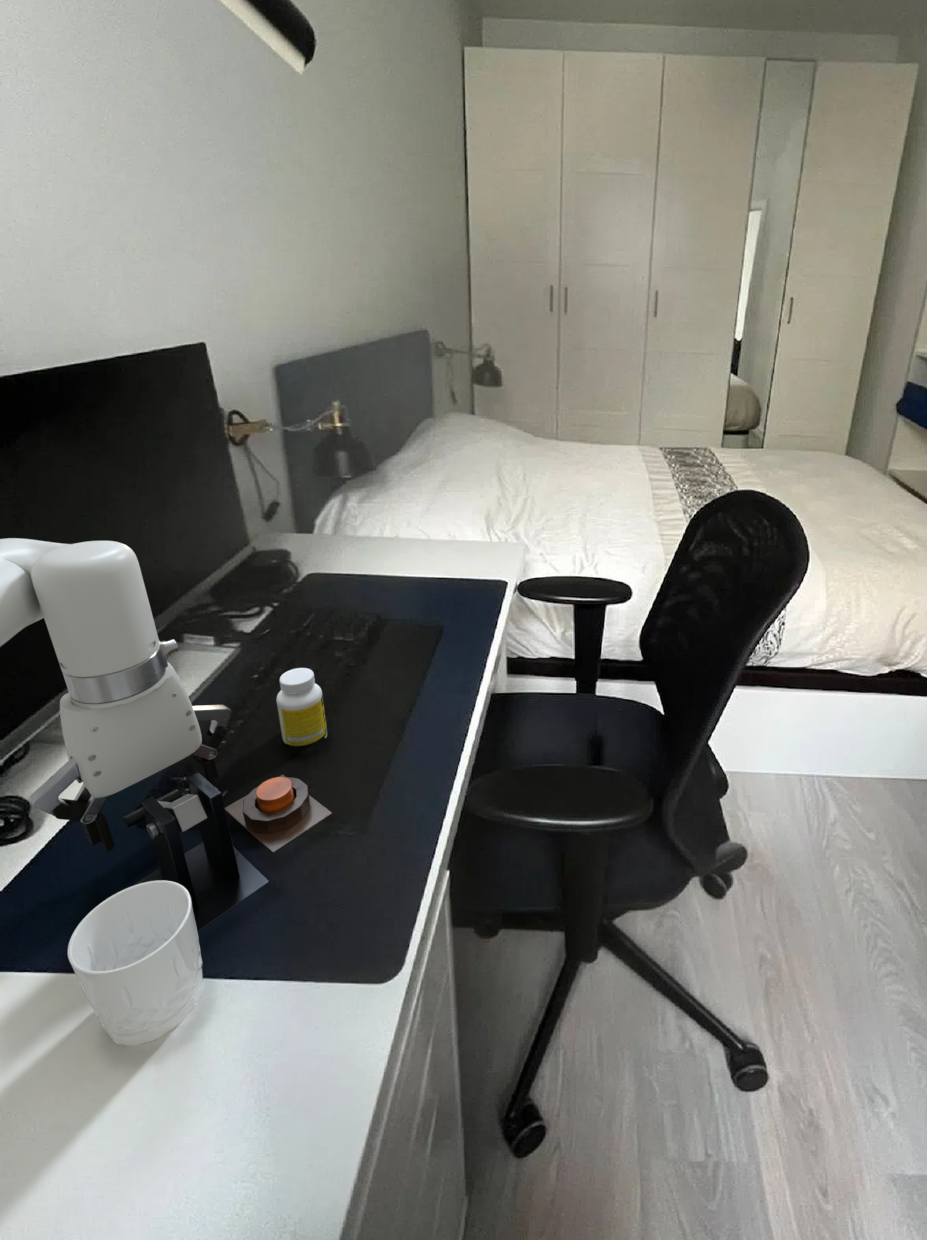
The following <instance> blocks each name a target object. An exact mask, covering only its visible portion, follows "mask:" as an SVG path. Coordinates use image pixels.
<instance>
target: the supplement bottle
mask: <svg viewBox="0 0 927 1240" xmlns="http://www.w3.org/2000/svg"><path fill="white" fill-rule="evenodd" d="M279 687H280V691H279V692H278V693H277V695H276V697H275V698H276V699H275V701H276V707H277V712H278V713H277V714H278V721H279V725H280V732H281V738H282V742H283V743H284V744H285V745H287V746H290V747H304V746H308V745H312V744H315V743H316V742H318V741H320V740H321V739H323V738H324V739H327V737H328V726H327V719H326V711H325V704H324V696H323V690H322V688H321V686H320V685H318V684H317V683H316V679H315V673H314V671H313V670H312V669H311V668H307V667H296V668H292V669H289V670H287V671H285V672H284V673H282V674H281V676H280V677H279Z"/></svg>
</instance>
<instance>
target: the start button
mask: <svg viewBox="0 0 927 1240" xmlns="http://www.w3.org/2000/svg"><path fill="white" fill-rule="evenodd" d="M258 786H259V787H258ZM258 786H257V787H258V788H257V791H256V797H257V802H258V807H259V809H260V810H261V811H263V812H270V813H271V812H274V811H278V810H282V809H284V808H285V807H287V806H289V805H290V804H291V803H292V801H293V799H294V792H293V786H292V782H291V780H290V779H288V778H285V777H279V776H276V777H271V778H269V779H267V780H265V781H263V782H261V784H259V785H258Z"/></svg>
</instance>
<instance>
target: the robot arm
mask: <svg viewBox="0 0 927 1240" xmlns="http://www.w3.org/2000/svg"><path fill="white" fill-rule="evenodd" d="M42 619H44V622H45V625H46V628H47V631H48V635H49V638H50V640H51V644H52V646H53V649H54V652H55V655H56V658H57V661H58V664H59V668H60V670H61V673H62V676H63V679H64V682H65V685H66V688H67V691H68V692H67V693H65V694H63V696H61V698H60V700H59V716H60V725H61V732H62V737H63V742H64V746H65V750H66V755H67V758H68V761H66V762H65V764H63V765H62V766H61V767H59V769H58V770H57V771H56V772H55V773H53V774H52V775H51V776H50V777H49V778H48V779H47V780H45V781H44V783H42V784H41V785H40V786H39V787H38V788H37V789H36V790H35V791H34V792H33V793H31V794H30V796H29V801H30V803H31V804H32V805H33V806H34V808H36V809H37V810H40V811H42V812H44V813H47V814H48V815H51V816H53V817H55V818H56V820H64V821H74V822H80V823H81V826H82V829H83V831H84V834H85V836H86V840H87V841H88V842H89V844H90V845H91V846H92V847H93V846H95V845H97V844H100V846H101V847H102V848H103V849H104V851H105V852H106V853H108V852H110V851H112V850H114V847H116V844H115V842H114V838H113V835H112V832H111V829H110V826H109V823H108V820H107V818H106V816H105V815H104V813H102V812H101V811H102V809H103V807H104V805H105V803H106V802H107V800H108V798H109V796H112V795H114V794H116V793H119V792H121V791H123V790H125V789H127V788H129V787H131V786H133V785H135V784H137V783H139V782H141V781H143V780H145V779H147V778H149V777H151V776H153V775H155V774H157V773H159V772H161V771H162V770H164V769H166V768H169V767H170V766H172V765H175V764H176V763H178V762H180V761H182V760H184V759H186V758H187V757H189V758H190V763H191V766H192V770H193V775H194V774H196V773H199V774H201V775H202V776H203V777H204V778H205V779H206V780H207V781H208V782H210V783H211V784H212V785H213V786H214V787H215V788H217V783H216V780H215V779H217V778H219V773H218V770H217V764H216V761H215V758H216V757H217V756H218V753H219V752H218V750H217V749H218V748H219V746H220V745H221V743H222V741H223V740H224V739H225V737H226V735H227V727H228V725H229V723H230V719H231V716H232V709H231V708H229V707H228V706H227V705H225V704H204V705H193V704H192V702H191V699H190V698H189V695H188V693H187V690H186V688H185V687H184V684H183V682H182V679H181V678H180V676H179V675H178V673H177V671H176V669H175V668H174V667H173V666H172V664H171V663H170V662H168V657H171V656H172V654H174V653H176V652H179V645H178V643H177V641H176V640H175V639H173V638H172V639H169V640H167V641H166V640H162V641H160V639H159V635H158V631H157V628H156V624H155V619H154V616H153V612H152V608H151V605H150V601H149V597H148V593H147V589H146V585H145V582H144V578H143V574H142V569H141V566H140V563H139V560H138V557H137V555H136V553H135V551H134V550H133V549H132V547H130V546H128V545H127V544H124V543H122V542H119V541H114V540H90V541H89V540H88V541H82V542H76V543H61V542H52V541H44V540H38V539H32V538H31V539H30V538H20V537H19V538H17V537H8V538H7V537H6V538H0V647H2V646H4V645H5V644H7V643H8V642H9V641H10V640H11V639H12V638H14V637H15V636H16V635H17V634H18V633H20V632H21V631H22V630H23V629H25V628H27V627H28V626H30V625H32V624H34V623H36V622H39V621H40V620H42ZM204 721H205V722H206V721H207V722H208V721H210V725H208V727H207V728H206V730H205V731H204V733H203V734H202V732H201V727H200V724H199V722H204ZM75 781H77V783H78V784H81V783H83V784H82V785H81V787H80V788H79V790H78V792H77V794H76V796H75V798H74V799H68V798H62V797H61V798H60V796H61V794H62V793H63V792H64V791H65V790H66V789H68V787H70V786H71V785H72V784H73V783H74V782H75Z"/></svg>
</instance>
